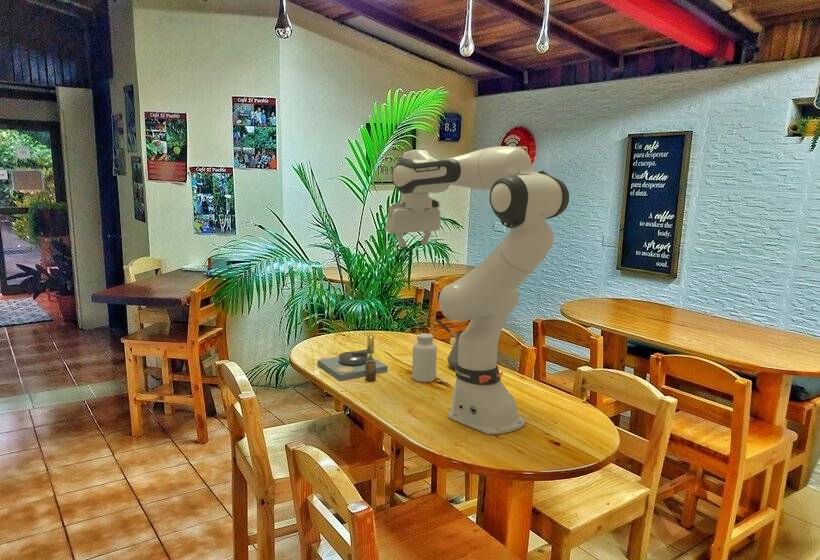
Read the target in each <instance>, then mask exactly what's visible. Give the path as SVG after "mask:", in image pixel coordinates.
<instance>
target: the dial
mask: <svg viewBox="0 0 820 560" xmlns="http://www.w3.org/2000/svg"><path fill="white" fill-rule="evenodd" d="M366 337H367V338H366V339H367V340H366V341H367V342H366V343H367V344H366V345H367V346H366V347H367V348H366V349H360V350H355V351H354V350H353V351H345V352H342V353H340V354H339V355H338V356H339V363H340V364H343V365H347V366H358V365H363V364H365V363H366V362H367V361H368V356H369V354H372V355H373V354H375V336H374V335H367V336H366Z"/></svg>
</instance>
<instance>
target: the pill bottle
mask: <svg viewBox="0 0 820 560" xmlns="http://www.w3.org/2000/svg"><path fill="white" fill-rule="evenodd" d="M437 354H438V347H437V345H436V343H434V335H433V334H431V333H425V332H423V333H418V334H417V335H416V342H415V343H414V344H413V346H412V362H411V363H412V369H411V371H412V372H411V375H412V376H411V378H412V379H413V380H414V381H417V382H421V383H428V382H429V383H430V382H433V381H435V380H436V377H437V374H436V373H437Z"/></svg>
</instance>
